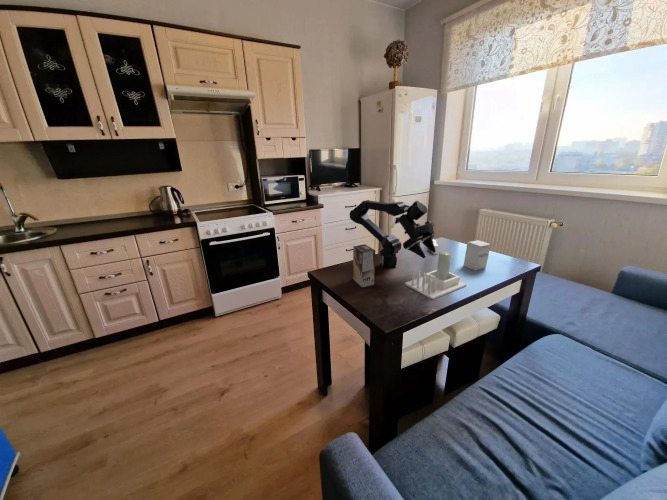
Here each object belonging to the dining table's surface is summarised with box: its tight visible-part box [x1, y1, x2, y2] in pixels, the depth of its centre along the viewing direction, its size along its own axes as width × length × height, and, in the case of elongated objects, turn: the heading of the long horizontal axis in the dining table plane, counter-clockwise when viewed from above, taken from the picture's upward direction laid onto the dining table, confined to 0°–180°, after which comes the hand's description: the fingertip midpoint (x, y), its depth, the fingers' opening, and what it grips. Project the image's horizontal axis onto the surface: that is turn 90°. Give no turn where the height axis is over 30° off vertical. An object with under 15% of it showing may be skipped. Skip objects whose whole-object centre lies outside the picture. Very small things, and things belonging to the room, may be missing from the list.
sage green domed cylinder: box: [436, 251, 452, 281], centre depth 116 cm, size 5×5×13 cm
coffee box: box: [352, 243, 376, 288], centre depth 118 cm, size 9×6×16 cm
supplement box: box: [463, 239, 491, 271], centre depth 132 cm, size 7×7×13 cm
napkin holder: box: [430, 238, 439, 255], centre depth 156 cm, size 15×11×6 cm
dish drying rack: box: [404, 269, 467, 300], centre depth 116 cm, size 21×15×7 cm
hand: (430, 254), depth 119 cm, fingers open, 9 cm apart
